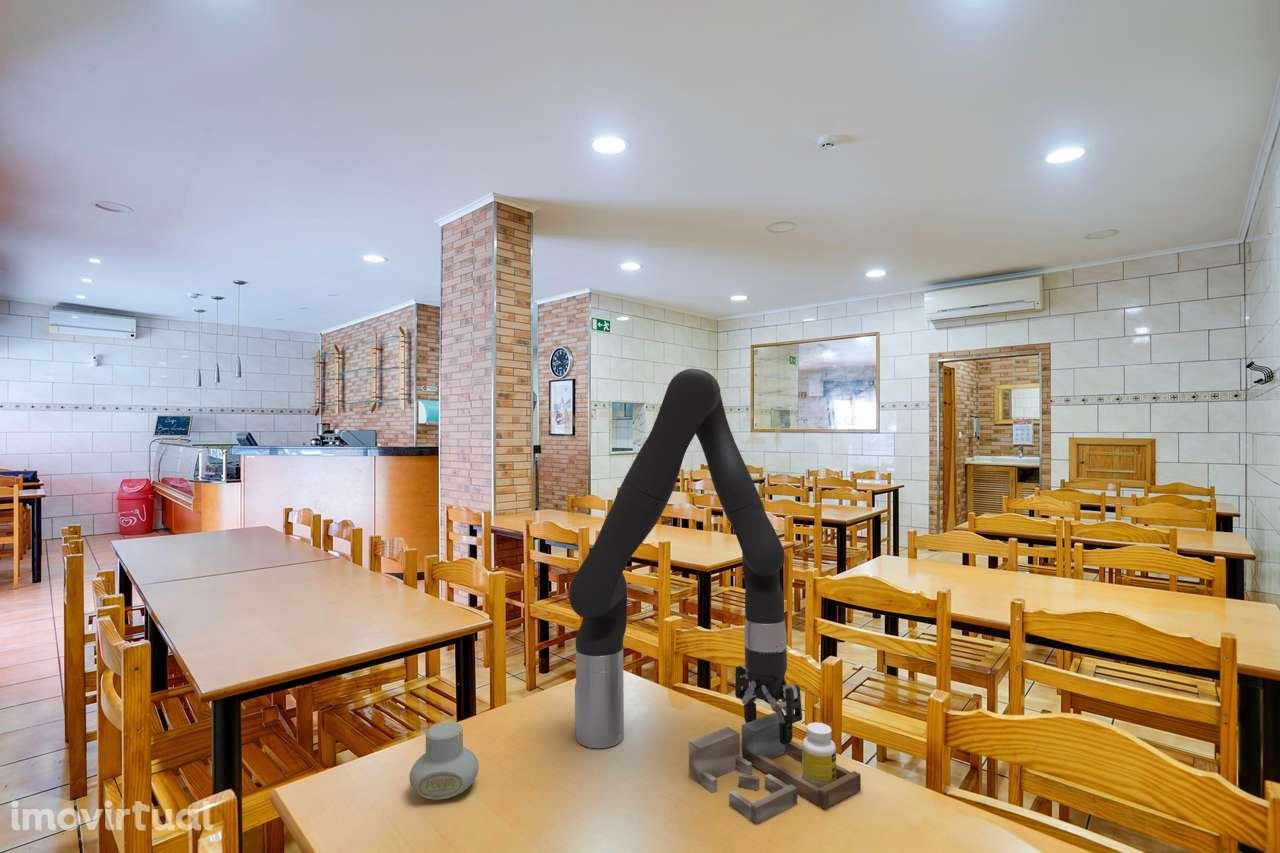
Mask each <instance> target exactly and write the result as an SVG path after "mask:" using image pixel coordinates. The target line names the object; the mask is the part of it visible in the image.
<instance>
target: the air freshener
mask: <svg viewBox="0 0 1280 853" xmlns="http://www.w3.org/2000/svg"><path fill="white" fill-rule="evenodd" d="M463 728H464V727H463V726H462V725H461V724H460V723H458V722H457V721H456V722H455V721H444V722H443V721H442V722H439V723H436V724H434V725H432V726H430V727H429V728H428V729H427V731H426V732H425V753H423V754H422V755H421V756H420V757H419V758H418V759H416V760H415V762H414V763H413V765H412V767H411V769H410V772H409V783H410V784H409V785H410V787H411V788H412V790H413V791H414V793H416V794H417V795H419V796H420V797H422V798H425V799H428V800H435V801H443V800H442V799H446V800H447V799H452V798H453V797H455V796H458V795H460V794H462V793H463V792H465V790H467V789H468V788H470V786H471V785H472V784H473V783H474V781H475V780H476V778H477V776H478V772H479V769H480V766H479V759H478V758H477V756H476V754H475V753H473V751H471V750H470V749H469V748H466V747H464V736H463V735H464V732H463Z"/></svg>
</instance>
